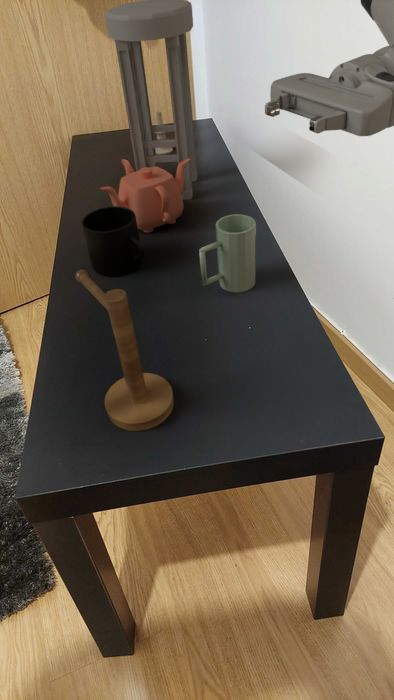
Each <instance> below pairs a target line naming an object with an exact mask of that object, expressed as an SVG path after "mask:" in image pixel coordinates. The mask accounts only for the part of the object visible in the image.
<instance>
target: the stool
mask: <svg viewBox="0 0 394 700" xmlns="http://www.w3.org/2000/svg"><path fill="white" fill-rule="evenodd" d="M104 15H105V16H104V17H105V24H106V29H107V30H106V31H107V36H108V37H109V38H111V39H112V40H114V42H115V48H116V55H117V62H118V68H119V74H120V80H121V86H122V92H123V98H124V103H125V104H124V105H125V110H126V111H125V112H126V117H127V123H128V128H129V135H130V141H131V147H132V153H133V160H134V166H135V167H134V168H135V172H136V171H139V170H140V169H142V168H145V167H149V168H150V167H159V166H158V163H177V166H178V165H179V164H180V162H182V161H183V160H185V159H188V158H190V160H189V162H188V163H187V164H186V166H185V169H184V189H183V192H182V194H181V195H182V199H183V201H185V200H192V199H193V195H194V193H193V192H194V191H193V182H197V181H198V168H197V167H198V166H197V156H196V143H195V131H194V118H193V107H192V106H193V104H192V93H191V81H190V68H189V56H188V55H189V54H188V44H187V43H188V42H187V33H189V32H191V31H192V29H193V28H194V17H193V5H192V2H191V1H189V0H138V1H131V2H126V3H123V4H119V5H115V6H112V7H111V8H109V9H108V10H106V11H105V13H104ZM162 39H164V46H165V54H166V63H167V74H168V83H169V93H170V102H171V110H172V111H171V112H172V120H173V124H163V125H157V124H155V125H153V121H152V113H151V106H150V100H149V92H148V84H147V77H146V69H145V62H144V52H143V46H142V42H143V41H157V40H162ZM154 132H165V133H174V138H169V139H168V138H166V139H163V140H158V139H155V136H154V135H155V133H154ZM163 147H172V148H176V149H175V150H176V154H166V155H156V150H155V148H163Z"/></svg>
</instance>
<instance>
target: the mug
mask: <svg viewBox="0 0 394 700" xmlns="http://www.w3.org/2000/svg"><path fill="white" fill-rule="evenodd" d="M81 227H82V233H83V236H84V239H85V243H86V244H85V245H86V248H87V251H88V256H89V259H90V264H91V267H92V269H93V270H94V272H96V273H97V274H98V275H101V276H103V277H121V276H125V275H128V274H130V273H132V272H135V271H136V270H137V269H138V268H139V267H141V265H142V262H143V260H144V254H145V252H144V248H143V247H144V246H143V245H142V243H141V239H140V234H139V229H138V227H137V221H136V216H135V213H134V212H133V211H132V210H131V209H129V208H126V207H120V206H113V205H112V206H105V207H99V208H97V209H95V210H93V211H90V212H89V213H87V214H86V215H85V216H84V217H83V218H82V220H81Z"/></svg>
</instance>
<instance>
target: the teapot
mask: <svg viewBox="0 0 394 700" xmlns="http://www.w3.org/2000/svg"><path fill="white" fill-rule="evenodd" d="M189 160H190V158H188V159H185V160H183V161H182V162H180V164H179V165H178V164H177V168H176V173H175V177H174V175H173V174H171V173H170V172H168V171H167V170H165V169H163V168H161V167H159V166H158V167H150V168H149V167H145V168H142V169H140V170H139V171H136V170H134V168H133V166H132V163H130V162H129V160H127V159H125V158H122V159H121V161H120V162H121V163H122V165H123V167H124V169H125V175H124V176H122V177H121V178H120V180H119V187H118V193H117V191H116V189H114V187H112V186H102V187H99V190H101V191H104V192H106V193H107V194H108V195H109V197H110V200H111V203H112V206H120V207H126V208H129V209H131V210H132V211H133V212H134V213H135V216H136V221H137V227H138V230H141V231H142V232H144V233H146V234H147V233H152V232H153V231H154V229H155V228H158V227H161V226H163V225H166V224H168V225H172V224H175V223H176V222H177V220H176V219H178V218H180V217H181V216H182V213H183V211H184V200H183V199H182V195H181V194H182V192H183V189H184V169H185V166H186V164H187V163H188V162H189Z"/></svg>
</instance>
